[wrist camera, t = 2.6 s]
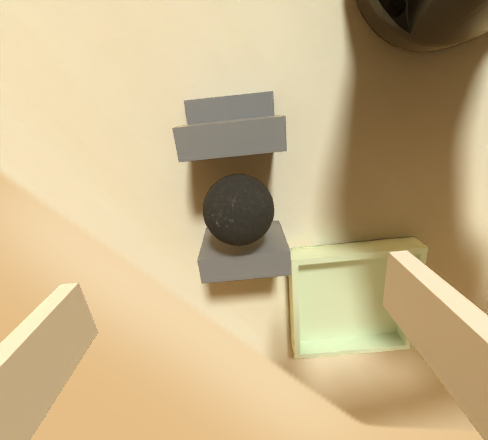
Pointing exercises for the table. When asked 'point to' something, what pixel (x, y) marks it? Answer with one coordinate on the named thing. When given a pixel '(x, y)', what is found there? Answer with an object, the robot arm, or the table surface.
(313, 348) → the tray
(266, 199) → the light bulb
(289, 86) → the table surface
